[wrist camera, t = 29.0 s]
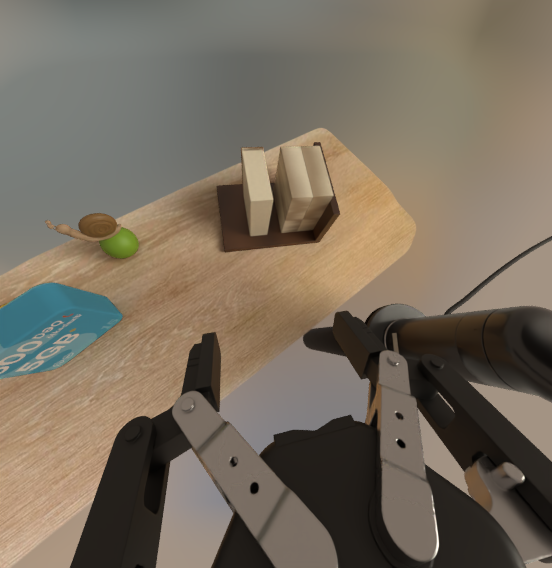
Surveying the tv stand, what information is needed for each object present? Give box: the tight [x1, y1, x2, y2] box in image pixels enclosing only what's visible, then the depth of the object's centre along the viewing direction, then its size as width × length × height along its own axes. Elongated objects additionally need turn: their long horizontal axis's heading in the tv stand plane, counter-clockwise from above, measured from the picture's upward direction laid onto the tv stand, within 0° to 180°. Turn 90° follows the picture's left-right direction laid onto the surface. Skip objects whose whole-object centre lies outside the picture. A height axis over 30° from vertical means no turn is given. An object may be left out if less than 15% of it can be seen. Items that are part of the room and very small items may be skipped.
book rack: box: [217, 142, 340, 252], centre depth 38 cm, size 20×15×12 cm
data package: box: [0, 283, 123, 379], centre depth 27 cm, size 12×4×12 cm, turn 135°
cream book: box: [241, 147, 273, 236], centre depth 37 cm, size 4×10×11 cm, turn 10°
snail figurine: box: [45, 213, 139, 258], centre depth 32 cm, size 5×6×12 cm
